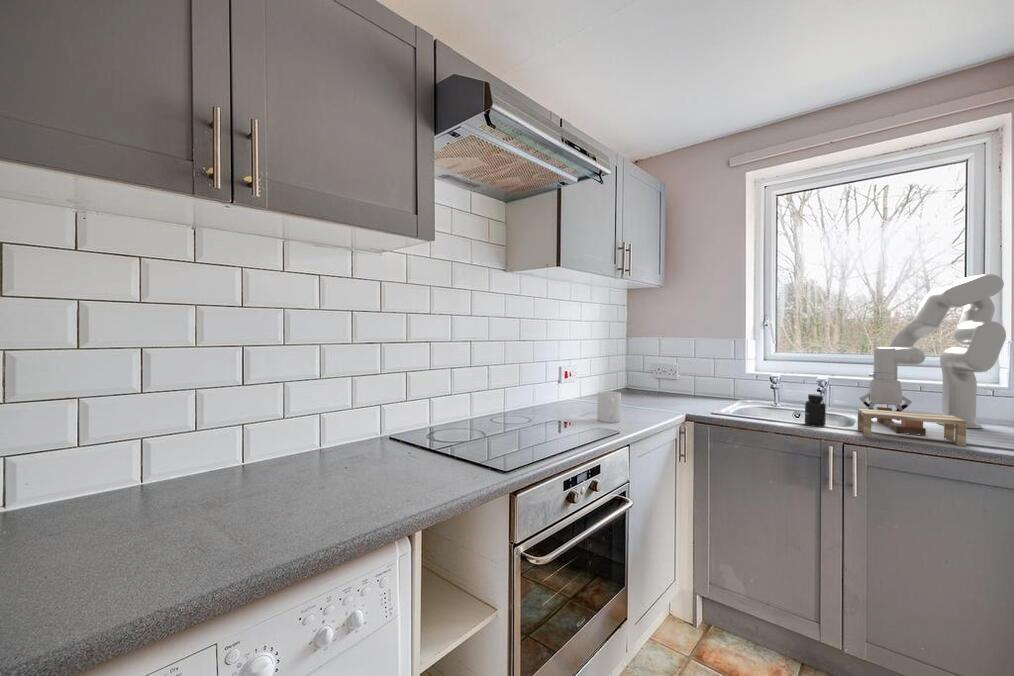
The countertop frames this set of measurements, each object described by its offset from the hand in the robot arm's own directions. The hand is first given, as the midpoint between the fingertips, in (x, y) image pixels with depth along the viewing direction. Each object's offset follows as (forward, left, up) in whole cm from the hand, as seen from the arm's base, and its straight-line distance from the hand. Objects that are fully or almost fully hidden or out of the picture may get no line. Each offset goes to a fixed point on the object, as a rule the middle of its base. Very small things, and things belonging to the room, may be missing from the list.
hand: (884, 418), depth 180 cm
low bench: (+32, 0, -1) cm, 32 cm away
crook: (+11, +2, -1) cm, 11 cm away
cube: (+20, +4, -2) cm, 20 cm away
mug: (+61, -98, -2) cm, 115 cm away
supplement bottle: (+23, -26, -2) cm, 34 cm away
